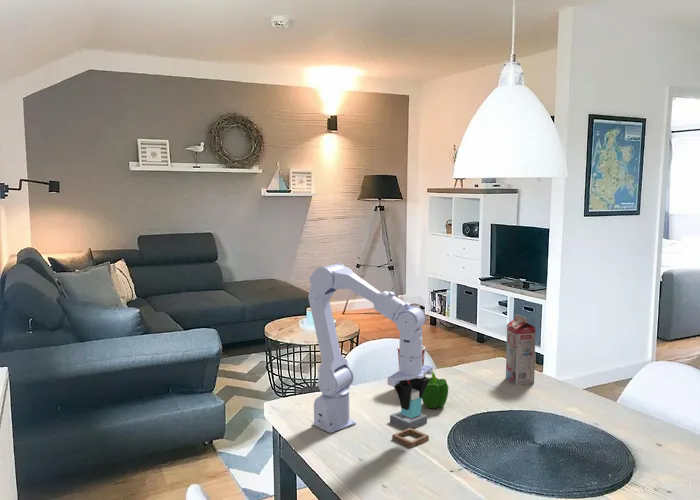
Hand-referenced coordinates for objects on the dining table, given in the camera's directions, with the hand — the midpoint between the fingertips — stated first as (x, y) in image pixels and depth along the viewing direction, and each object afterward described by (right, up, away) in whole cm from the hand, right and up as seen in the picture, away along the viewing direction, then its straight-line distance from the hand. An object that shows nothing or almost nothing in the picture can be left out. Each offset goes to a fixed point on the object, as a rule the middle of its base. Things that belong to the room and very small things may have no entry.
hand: (410, 406), depth 151 cm
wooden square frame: (0, -9, +1) cm, 9 cm away
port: (+1, -8, +12) cm, 14 cm away
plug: (0, -2, 0) cm, 2 cm away
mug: (+4, -5, +38) cm, 38 cm away
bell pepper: (+9, -6, +24) cm, 26 cm away
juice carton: (+41, -4, +45) cm, 61 cm away
